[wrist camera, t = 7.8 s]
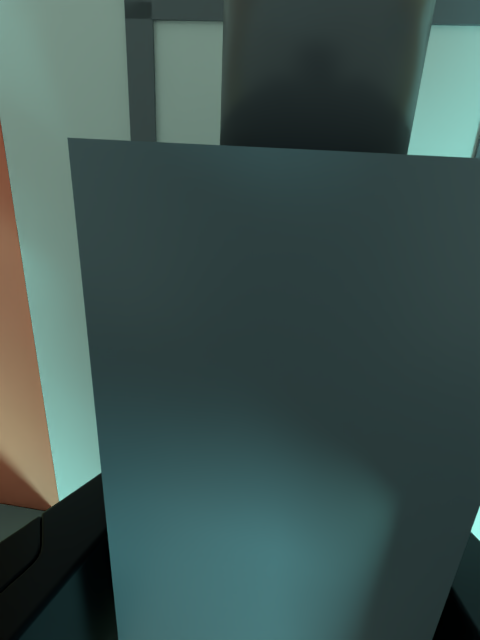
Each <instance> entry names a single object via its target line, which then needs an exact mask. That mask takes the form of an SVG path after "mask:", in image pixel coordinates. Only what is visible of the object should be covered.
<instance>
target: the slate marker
mask: <svg viewBox="0 0 480 640" xmlns="http://www.w3.org/2000/svg"><path fill="white" fill-rule="evenodd" d="M435 4H436V0H224V9H223V46H222V83H221V120H220V145H206V144H186V143H166V142H145V141H125V140H105V139H85V138H67V139H68V149H69V159H70V169H71V179H72V189H73V198H74V208H75V218H76V228H77V238H78V248H79V257H80V267H81V277H82V287H83V297H84V306H85V316H86V326H87V336H88V346H89V356H90V365H91V375H92V385H93V395H94V405H95V415H96V424H97V434H98V444H99V454H100V464H101V474H102V483H103V493H104V503H105V513H106V523H107V533H108V542H109V552H110V562H111V572H112V582H113V592H114V601H115V611H116V621H117V631H118V640H432V639H433V636H434V633H435V630H436V628H437V625H438V622H439V619H440V616H441V614H442V611H443V608H444V605H445V602H446V600H447V597H448V594H449V591H450V588H451V586H452V583H453V580H454V577H455V574H456V572H457V569H458V566H459V563H460V560H461V558H462V555H463V552H464V549H465V546H466V544H467V541H468V538H469V535H470V532H471V530H472V527H473V524H474V521H475V518H476V516H477V513H478V510H479V507H480V158H467V157H447V156H427V155H407V153H408V148H409V142H410V137H411V132H412V126H413V121H414V116H415V110H416V105H417V100H418V94H419V89H420V84H421V78H422V73H423V68H424V62H425V57H426V52H427V46H428V41H429V36H430V31H431V25H432V20H433V15H434V9H435Z"/></svg>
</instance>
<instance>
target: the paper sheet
mask: <svg viewBox="0 0 480 640" xmlns="http://www.w3.org/2000/svg"><path fill="white" fill-rule="evenodd" d="M223 9H224V0H0V120H1V126H2V133H3V139H4V146H5V152H6V159H7V165H8V172H9V178H10V185H11V191H12V198H13V204H14V211H15V217H16V224H17V230H18V237H19V243H20V250H21V256H22V263H23V269H24V276H25V282H26V289H27V295H28V302H29V308H30V315H31V321H32V328H33V334H34V341H35V347H36V354H37V360H38V367H39V373H40V380H41V386H42V393H43V399H44V406H45V412H46V418H47V425H48V431H49V438H50V444H51V451H52V457H53V464H54V470H55V477H56V483H57V490H58V496H59V501H61V500H62V499H64V498H65V497H67V496H68V495H69V494H71V493H72V492H74V491H75V490H77V489H78V488H80V487H81V486H82V485H84V484H85V483H87V482H88V481H90V480H91V479H93V478H94V477H95V476H97V475H98V474H100V473H101V464H100V454H99V444H98V434H97V424H96V415H95V405H94V395H93V385H92V375H91V365H90V356H89V346H88V336H87V326H86V316H85V306H84V297H83V287H82V277H81V267H80V257H79V248H78V238H77V228H76V218H75V208H74V198H73V189H72V179H71V169H70V159H69V149H68V139H67V138H85V139H105V140H125V141H145V142H166V143H186V144H206V145H220V120H221V83H222V46H223ZM407 155H427V156H447V157H467V158H480V0H436V4H435V9H434V15H433V20H432V25H431V31H430V36H429V41H428V46H427V52H426V57H425V62H424V68H423V73H422V78H421V84H420V89H419V94H418V100H417V105H416V110H415V116H414V121H413V126H412V132H411V137H410V142H409V148H408V153H407ZM471 532H472V533H473V534H474V535H475V536H476V537H477V538H478V539H479V540H480V507H479V510H478V513H477V516H476V518H475V521H474V524H473V527H472V530H471Z"/></svg>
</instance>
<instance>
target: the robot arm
mask: <svg viewBox="0 0 480 640" xmlns="http://www.w3.org/2000/svg"><path fill="white" fill-rule="evenodd" d="M0 640H118V631H117V621H116V611H115V601H114V592H113V582H112V572H111V562H110V552H109V542H108V533H107V523H106V513H105V503H104V493H103V483H102V474H101V473H100V474H98V475H97V476H95V477H94V478H93V479H91V480H90V481H88V482H87V483H85V484H84V485H82V486H81V487H80V488H78V489H77V490H75V491H74V492H72V493H71V494H69V495H68V496H67V497H65V498H64V499H62V500H61V501H59V502H58V503H56V504H55V505H54V506H52V507H51V508H49V509H48V510H46V511H45V512H43V513H42V515H41V517H40V516H37V517H36V518H34V519H33V520H32V521H30V522H29V523H27V524H26V525H24V526H23V527H21V528H20V529H18V530H17V531H15V532H14V533H12V534H11V535H9V536H8V537H6V538H5V539H3V540H2V541H0ZM432 640H480V540H479V539H478V538H477V537H476V536H475V535H474V534H473V533H472V532H470V535H469V538H468V541H467V544H466V546H465V549H464V552H463V555H462V558H461V560H460V563H459V566H458V569H457V572H456V574H455V577H454V580H453V583H452V586H451V588H450V591H449V594H448V597H447V600H446V602H445V605H444V608H443V611H442V614H441V616H440V619H439V622H438V625H437V628H436V630H435V633H434V636H433V639H432Z"/></svg>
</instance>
